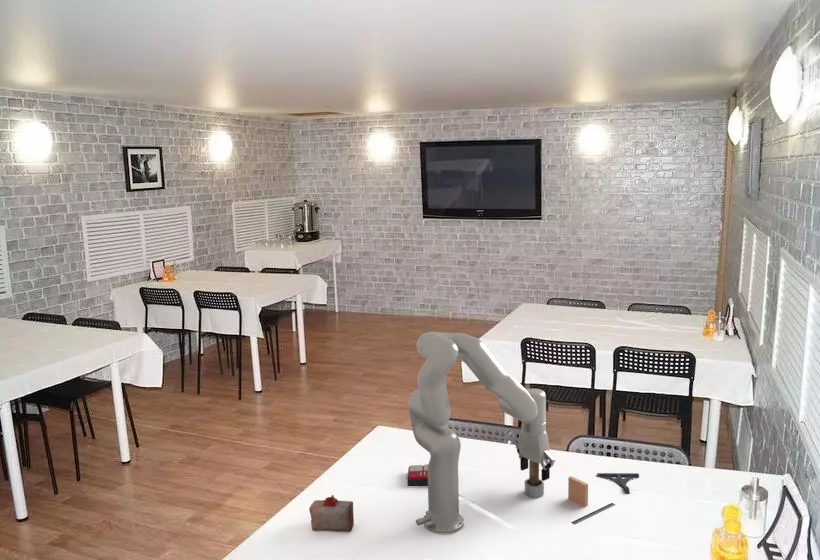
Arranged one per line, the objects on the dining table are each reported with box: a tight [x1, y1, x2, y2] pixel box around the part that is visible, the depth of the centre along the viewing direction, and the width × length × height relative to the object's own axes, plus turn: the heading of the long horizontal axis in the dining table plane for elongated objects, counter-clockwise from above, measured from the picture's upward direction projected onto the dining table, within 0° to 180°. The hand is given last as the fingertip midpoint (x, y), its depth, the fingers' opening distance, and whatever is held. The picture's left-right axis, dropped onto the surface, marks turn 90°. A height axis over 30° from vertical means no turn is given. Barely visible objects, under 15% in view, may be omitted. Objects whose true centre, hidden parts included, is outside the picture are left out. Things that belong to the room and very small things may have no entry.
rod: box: [528, 459, 540, 486], centre depth 217 cm, size 3×3×14 cm
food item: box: [308, 494, 355, 533], centre depth 201 cm, size 14×8×10 cm, turn 83°
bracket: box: [596, 472, 640, 495], centre depth 225 cm, size 14×15×3 cm
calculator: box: [406, 464, 428, 487], centre depth 232 cm, size 11×4×15 cm
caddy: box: [524, 478, 545, 499], centre depth 218 cm, size 6×6×5 cm
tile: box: [567, 476, 589, 508], centre depth 211 cm, size 2×7×8 cm, turn 35°
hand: (534, 474), depth 217 cm, fingers open, 9 cm apart
